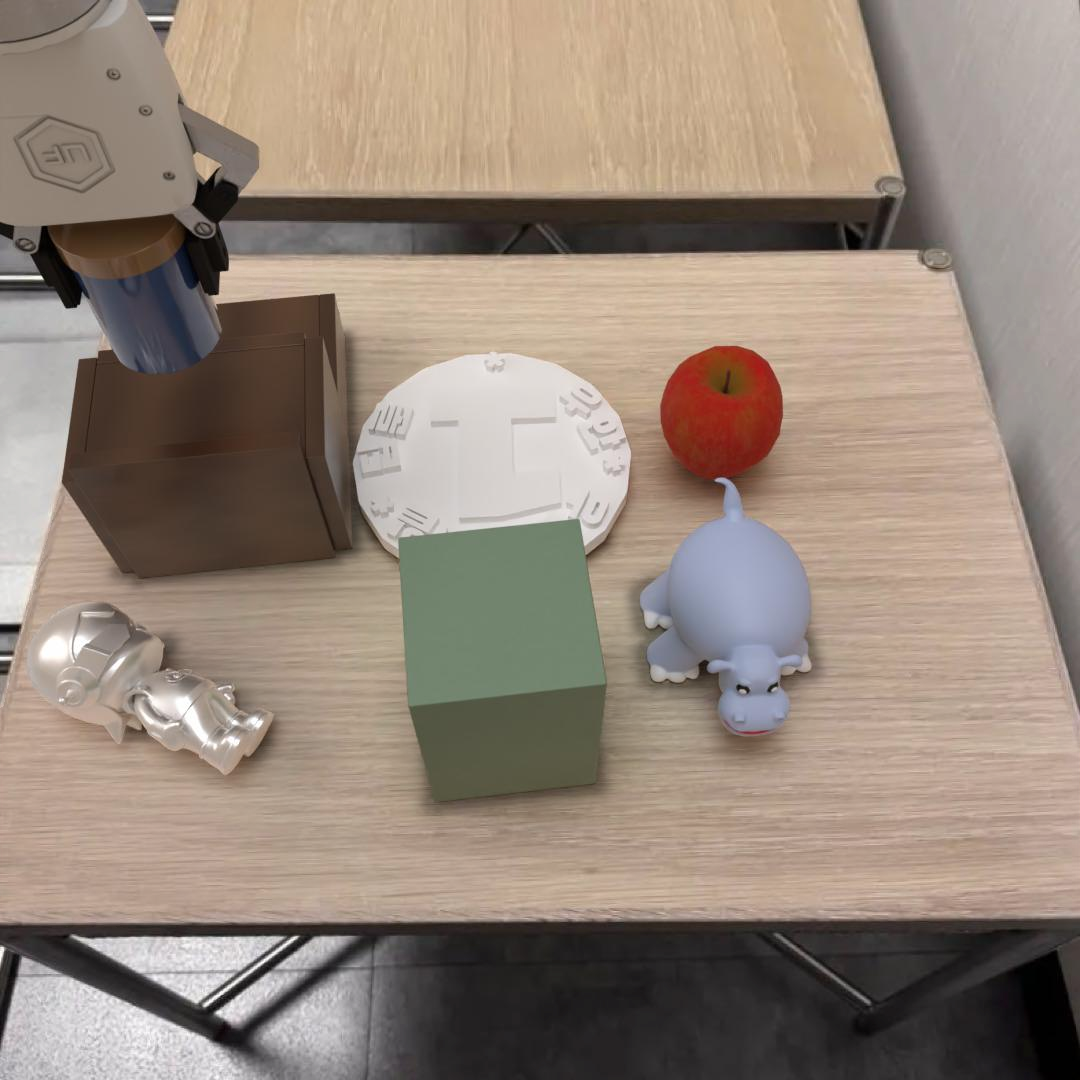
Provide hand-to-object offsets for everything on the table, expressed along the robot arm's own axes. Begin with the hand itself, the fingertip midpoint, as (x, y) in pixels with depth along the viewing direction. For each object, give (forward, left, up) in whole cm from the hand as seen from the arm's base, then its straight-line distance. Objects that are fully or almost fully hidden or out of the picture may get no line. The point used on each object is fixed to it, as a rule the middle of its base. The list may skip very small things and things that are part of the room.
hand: (144, 281), depth 59 cm
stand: (+17, -19, -22) cm, 34 cm away
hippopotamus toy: (+32, -16, -22) cm, 42 cm away
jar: (0, 0, -4) cm, 4 cm away
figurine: (-5, -16, -22) cm, 28 cm away
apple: (+34, -1, -22) cm, 41 cm away
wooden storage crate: (0, +5, -22) cm, 22 cm away
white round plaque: (+18, 0, -22) cm, 29 cm away
